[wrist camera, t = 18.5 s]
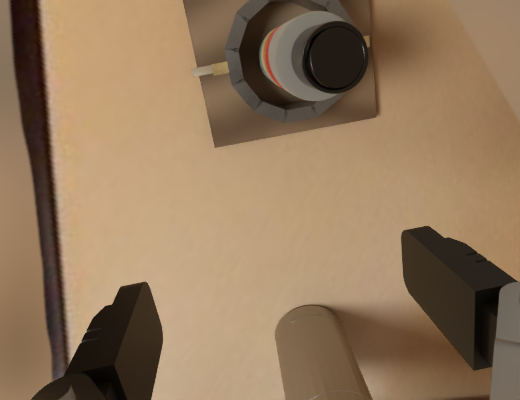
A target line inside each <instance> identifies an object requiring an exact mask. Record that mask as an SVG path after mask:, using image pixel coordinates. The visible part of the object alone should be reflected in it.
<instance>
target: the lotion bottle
mask: <svg viewBox="0 0 520 400" xmlns="http://www.w3.org/2000/svg"><path fill="white" fill-rule="evenodd" d="M368 59H369V56H368V48H367V44H366V41H365V39H364V37H363V36H362V34H361V33H360V31H359V30H358V29H357V28H356V27H354V26H353V25H351V24H349V23H347V22H346V21H344V20H343V19H342V18H341V17H339V16H337V15H335V14H333V13H330V12H325V11H312V12H308V13H305V14H302V15H300V16H298V17H296V18H294V19H292V20H290V21H288V22H286V23H284V24H282V25H281V26H279V27H277V28H275V29H273V30H272V31H271V32H269V33H268V34H267V35H266V37H265V38H264V39H263V41H262V43H261V46H260V49H259V64H260V67H261V70H262V72H263V73H264V75H265V76H266V77H267V78H268V79H269V80H270V81H271V82H273V83H274V84H276V85H278V86H279V87H281V88H283V89H284V90H286V91H287V92H289V93H291V94H292V95H294V96H296V97H298V98H301V99H304V100H308V101H321V100H326V99H329V98H331V97H333V96H335V95H337V94H339V93H343V92H346V91H348V90H350V89H352V88H353V87H355V86H356V85H357V84H358V83H359V82H360V81H361V79H362V78H363V76H364V74H365V72H366V70H367V66H368Z"/></svg>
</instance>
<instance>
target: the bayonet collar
mask: <svg viewBox="0 0 520 400" xmlns="http://www.w3.org/2000/svg"><path fill="white" fill-rule="evenodd" d="M288 2H292V3H295V4H297V5H299V6H302V7H304V8H306V9H309V10H311V11H325V12H330V13H333V14H335V15H337V16H339V17H341V18H342V19H343V20H344V21H346V22H347V23H349V24H351V25H354V23H353V22H352V20H351V18H350V17H349V15H348V14H347V12H346V11H345V9H344V8H343V6H342V5H341V3H340V2H339V0H249V1H248V2H247V3H245V4H244V5H243V6H242V7H241V8H240V9H239V10H238V11H237V13H236V14H235V18H234V21H233V24H232V27H231V30H230V33H229V37H228V40H227V43H226V46H225V49H227V50H225V54H226V59H227V62H222V63H216V64H212V69H213V74H214V76H215V75H221V74H226V73H229V75H230V80H231V84H232V87H233V88H234V89H235V90H236V91H237V93H238V94H239V95H240V96H241V97H242V99H243V100H244V101H245V102H246V103H247V105H248V106H249V107H250V108H251V109H252V111H254V112H255V113H257V114H260V115H263V116H266V117H268V118H271V119H274V120H277V121H279V122H282V123H284V122H285V123H290V122H295V121H300V120H306V119H311V118H316V116H319V115H321V114H322V113H323V112H324V111H325V110H327V109H328V108H329V107H330V106H331V105H333V104H334V103H335V102H336V101H337V100H339V99H340V98H341V97H342V94H344V93H345V92H343V93H339V94H337V95H335V96H333V97H331V98H329V99H326V100H321V101H308V100H302V101H297V102H292V103H286V104H281V105H280V104H277V103H274V102H272V101H269V100H266V99H263V98H261V97H258V96H257V95H256V94H255V92H254V91H253V90H252V89H251V88H250V86H249V85H248V84H247V83H246V81H245V80H244V78H243V73H242V67H241V62H240V56H239V47H240V44H241V41H242V38H243V35H244V32H245V29H246V26H247V23H248V22H249V21H250V20H251V19H252V18H254V17H255V16H256V15H257V14H258V13H259V12H260V11H261V10H262V9H263V8H264V7H266V6H272V5H277V4H283V3H288ZM354 27H355V26H354ZM363 37H364V39H365V41H366V44H367V47H370V41H369V35H368V36H363Z"/></svg>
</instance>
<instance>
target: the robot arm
mask: <svg viewBox="0 0 520 400" xmlns="http://www.w3.org/2000/svg"><path fill="white" fill-rule="evenodd" d="M401 243H402V262H403V277H404V282H405V285H406V287H407V290H408V292H409V293H410V295H411V296H412V297H413V298H414V299H415V301H416V302H417V303H418V304H419V305H420V307H421V308H422V309H423V310H424V311H425V313H426V314H427V315H428V316H429V318H430V319H431V320H432V321H433V322H434V324H435V325H436V326H437V327H438V328H439V330H440V331H441V332H442V333H443V334H444V336H445V337H446V338H447V339H448V340H449V342H450V343H451V344H452V345H453V346H454V348H455V349H456V350H457V351H458V352H459V354H460V355H461V356H462V357H463V358H464V360H465V361H466V362H467V363H468V364H469V366H470V367H471V368H472V369H473V370H479V369H484V368H488V367H492V379H491V391H490V400H520V282H518V281H516V280H515V279H514V278H512V277H511V276H510V275H508V274H507V273H505V272H504V271H503V270H501V269H500V268H498V267H497V266H496V265H494V264H493V263H492V262H490V261H487V259H486V258H485V257H483V256H482V255H481V254H477V252H476V251H475V250H474V249H472V248H471V247H470V246H468V245H467V244H465V243H463V242H460V241H457V240H454V239H452V238H444V237H442V236H441V235H440V234H439V233H437V232H436V231H435V230H433V229H432V228H431V227H429V226H424V227H419V228H414V229H409V230H404V231H403V232H402V235H401ZM275 340H276V346H277V352H278V357H279V364H280V370H281V376H282V381H283V387H284V393H285V399H286V400H373V399H372V397H371V394H370V392H369V390H368V387H367V385H366V383H365V380H364V378H363V375H362V373H361V371H360V368H359V366H358V364H357V361H356V359H355V357H354V354H353V352H352V350H351V347H350V345H349V343H348V340H347V338H346V335H345V333H344V331H343V328H342V326H341V324H340V321H339V319H338V318H337V316H336V315H335V314H334V313H333V312H332V311H330V310H328V309H326V308H324V307H320V306H313V305H310V306H303V307H299V308H296V309H294V310H292V311H290V312H289V313H288V314H286V315H285V316H284V317H283V318H282V319H281V320H280V322H279V324H278V325H277V328H276V331H275ZM162 344H163V332H162V326H161V322H160V319H159V316H158V313H157V309H156V306H155V303H154V300H153V296H152V293H151V290H150V287H149V285H148V283H147V282H141V283H136V284H131V285H126V286H121V287H120V289H119V291H118V293H117V295H116V297H115V300H114V302H113V304H112V305H108V306H105V307H104V308H103V309H102V310H101V311H100V312H99V313H98V314H97V315H96V316H95V317H94V318H93V319H92V321H91V323H90V325H89V327H88V329H87V333H85V335H84V337H83V339H82V343H80V345H79V347H78V349H77V351H76V353H75V355H74V356H73V358H72V360H71V362H70V364H69V366H68V368H67V370H66V372H65V374H64V376H63V377H60V378H58V379H56V380H54V381H52V382H50V383H49V384H47V385H46V386H44V387H43V388H42V389H41V390H39V391H38V392H37V393H36V394H35V395H34V397H33V398H32V399H31V400H151V397H152V392H153V388H154V383H155V378H156V373H157V368H158V364H159V359H160V354H161V349H162Z"/></svg>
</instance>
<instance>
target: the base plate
mask: <svg viewBox="0 0 520 400" xmlns="http://www.w3.org/2000/svg"><path fill="white" fill-rule="evenodd" d="M248 1H249V0H183V4H184V8H185V13H186V17H187V22H188V26H189V31H190V36H191V40H192V45H193V49H194V54H195V58H196V63H197V68H192V73H193V77H195V76H199V77H200V81H201V86H202V91H203V95H204V100H205V104H206V109H207V113H208V118H209V123H210V127H211V132H212V136H213V141H214V145H215V148H216V147H222V146H227V145H232V144H237V143H243V142H248V141H253V140H259V139H264V138H269V137H275V136H280V135H285V134H291V133H296V132H301V131H306V130H312V129H317V128H322V127H328V126H333V125H338V124H344V123H349V122H354V121H360V120H365V119H370V118H375V117H376V101H375V85H374V69H373V53H372V37H371V21H370V5H369V0H339V2H340V3H341V5H342V6H343V8H344V9H345V11H346V12H347V14H348V15H349V17H350V18H351V20H352V22H353V23H354V25H353V26H355V27H356V28H357V29H358V30H359V31H360V33H361V34H362V36H368V35H369V41H370V47H367V48H368V56H369V59H368V66H367V70H366V72H365V74H364V76H363V78H362V79H361V81H360V82H359V83H358V84H357V85H356V86H355V87H353V88H352V89H350V90H348V91H346V92H345V93H344V94H342V97H341V98H340V99H339V100H337V101H336V102H335V103H334V104H333V105H331V106H330V107H329V108H328V109H327V110H325V111H324V112H323V113H322V114H321V115H319V116H316V118H311V119H306V120H300V121H295V122H290V123H285V122H284V123H282V122H279V121H277V120H274V119H271V118H268V117H266V116H263V115H260V114H257V113H255V112H254V111H252V109H251V108H250V107H249V106H248V105H247V103H246V102H245V101H244V100H243V99H242V97H241V96H240V95H239V94H238V93H237V91H236V90H235V89H234V88H233V87H232V84H231V80H230V75H229V73H226V74H221V75H215V76H214V74H213V69H212V64H216V63H222V62H227V59H226V54H225V50H227V49H225V46H226V43H227V40H228V37H229V33H230V30H231V27H232V24H233V21H234V18H235V14H236V13H237V11H238V10H239V9H240V8H241V7H242V6H243V5H244V4H245V3H247V2H248ZM308 12H312V11H311V10H309V9H306V8H304V7H302V6H299V5H297V4H295V3H292V2H288V3H283V4H277V5H272V6H266V7H264V8H263V9H262V10H261V11H260V12H259V13H258V14H257V15H256V16H255V17H254V18H252V19H251V20H250V21H249V22H248V23H247V26H246V29H245V32H244V35H243V38H242V41H241V44H240V47H239V56H240V62H241V67H242V73H243V78H244V80H245V81H246V83H247V84H248V85H249V86H250V88H251V89H252V90H253V91H254V92H255V94H256V95H257V96H258V97H261V98H263V99H266V100H269V101H272V102H274V103H277V104H280V105H281V104H286V103H292V102H297V101H302V100H304V99H301V98H298V97H296V96H294V95H292V94H291V93H289V92H287V91H286V90H284V89H283V88H281V87H279V86H278V85H276V84H274V83H273V82H271V81H270V80H269V79H268V78H267V77H266V76H265V75H264V73H263V72H262V70H261V67H260V64H259V49H260V46H261V43H262V41H263V39H264V38H265V37H266V35H267V34H268V33H269V32H271V31H272V30H273V29H275V28H277V27H279V26H281V25H282V24H284V23H286V22H288V21H290V20H292V19H294V18H296V17H298V16H300V15H302V14H305V13H308Z"/></svg>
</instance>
